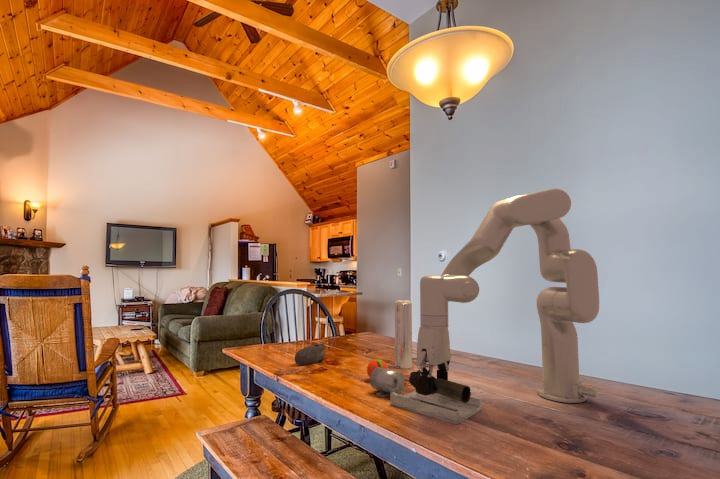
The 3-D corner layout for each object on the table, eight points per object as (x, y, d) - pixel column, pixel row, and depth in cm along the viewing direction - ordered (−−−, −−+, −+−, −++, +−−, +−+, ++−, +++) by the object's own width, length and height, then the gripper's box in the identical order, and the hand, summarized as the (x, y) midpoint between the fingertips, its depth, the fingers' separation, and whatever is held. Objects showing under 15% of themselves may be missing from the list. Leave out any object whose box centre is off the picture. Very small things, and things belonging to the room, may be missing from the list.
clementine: (392, 383, 123) (392, 360, 124) (373, 385, 121) (373, 362, 121) (382, 376, 131) (382, 355, 131) (363, 378, 128) (363, 357, 129)
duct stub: (405, 393, 113) (405, 369, 113) (390, 399, 107) (390, 374, 108) (384, 388, 118) (384, 365, 119) (369, 393, 113) (369, 369, 113)
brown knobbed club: (471, 401, 98) (471, 378, 98) (457, 408, 93) (457, 384, 93) (416, 385, 110) (416, 365, 111) (401, 390, 106) (401, 370, 106)
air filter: (392, 365, 146) (392, 300, 149) (407, 364, 148) (407, 299, 150) (399, 369, 140) (398, 301, 142) (415, 368, 142) (414, 300, 144)
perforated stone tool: (298, 368, 142) (298, 349, 143) (290, 365, 146) (290, 347, 147) (329, 361, 153) (329, 343, 153) (320, 359, 157) (321, 342, 157)
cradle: (481, 409, 100) (481, 398, 100) (456, 424, 90) (456, 411, 90) (418, 393, 113) (418, 382, 113) (390, 404, 103) (390, 393, 104)
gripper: (439, 317, 112) (439, 379, 111) (404, 323, 100) (404, 393, 98) (462, 319, 107) (463, 384, 106) (428, 325, 95) (429, 399, 93)
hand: (435, 388), depth 102 cm, fingers closed on brown knobbed club, 6 cm apart
